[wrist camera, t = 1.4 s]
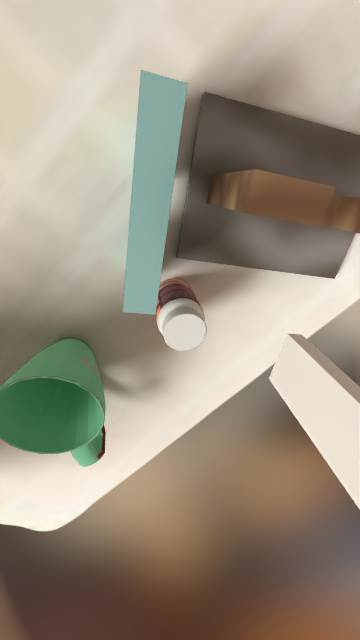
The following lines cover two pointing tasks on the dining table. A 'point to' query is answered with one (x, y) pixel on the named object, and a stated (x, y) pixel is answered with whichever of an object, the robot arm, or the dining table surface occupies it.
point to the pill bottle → (180, 316)
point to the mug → (56, 404)
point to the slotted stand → (270, 191)
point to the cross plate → (152, 187)
